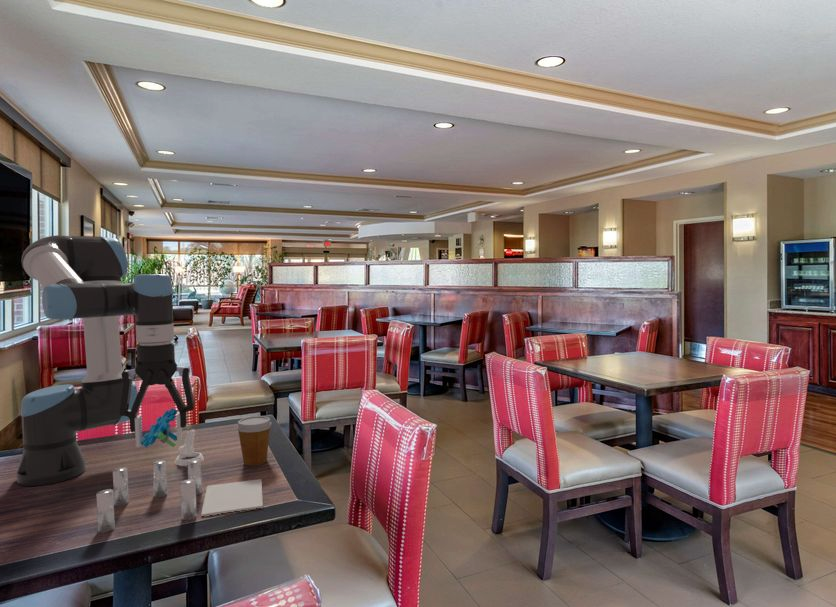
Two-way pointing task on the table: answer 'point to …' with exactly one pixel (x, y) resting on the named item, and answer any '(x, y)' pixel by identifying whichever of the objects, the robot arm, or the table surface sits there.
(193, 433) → the hook
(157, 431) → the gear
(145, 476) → the table surface
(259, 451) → the disposable coffee cup
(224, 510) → the rubber mat
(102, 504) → the spacer posts
